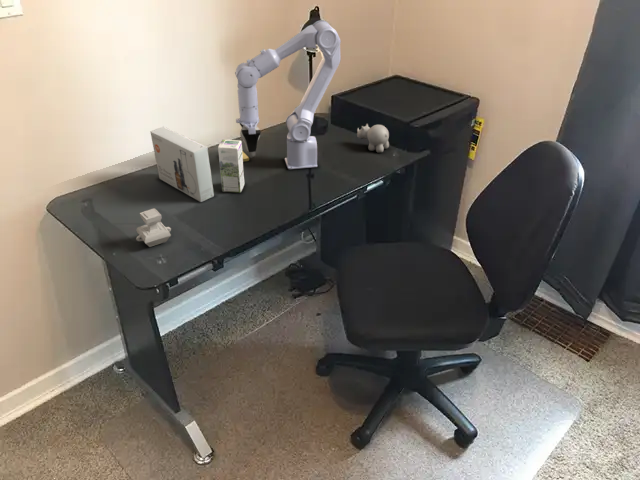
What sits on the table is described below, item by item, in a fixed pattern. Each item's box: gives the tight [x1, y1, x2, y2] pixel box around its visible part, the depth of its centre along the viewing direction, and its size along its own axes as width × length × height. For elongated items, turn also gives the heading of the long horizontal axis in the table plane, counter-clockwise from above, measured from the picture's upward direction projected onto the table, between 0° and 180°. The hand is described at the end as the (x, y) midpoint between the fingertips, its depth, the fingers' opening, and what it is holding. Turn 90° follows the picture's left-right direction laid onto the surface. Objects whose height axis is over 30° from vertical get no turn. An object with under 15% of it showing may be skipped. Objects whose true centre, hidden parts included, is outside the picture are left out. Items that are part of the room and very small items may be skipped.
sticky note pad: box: [242, 150, 250, 163], centre depth 185 cm, size 8×8×1 cm
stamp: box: [135, 207, 172, 248], centre depth 141 cm, size 9×7×8 cm
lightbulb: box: [239, 125, 261, 159], centre depth 175 cm, size 6×6×11 cm
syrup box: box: [217, 139, 246, 194], centre depth 164 cm, size 6×6×14 cm
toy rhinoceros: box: [356, 123, 390, 153], centre depth 192 cm, size 7×12×8 cm, turn 52°
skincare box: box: [149, 126, 215, 203], centre depth 164 cm, size 21×5×16 cm, turn 47°
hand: (251, 147), depth 176 cm, fingers closed on lightbulb, 6 cm apart
